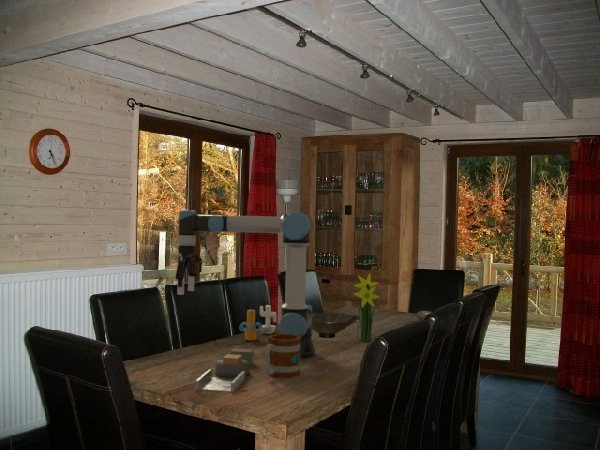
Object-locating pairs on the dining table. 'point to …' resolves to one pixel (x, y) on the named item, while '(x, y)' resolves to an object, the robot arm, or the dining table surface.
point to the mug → (283, 355)
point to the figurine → (268, 319)
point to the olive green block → (245, 354)
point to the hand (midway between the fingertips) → (185, 292)
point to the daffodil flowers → (366, 306)
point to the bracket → (218, 382)
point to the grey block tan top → (231, 366)
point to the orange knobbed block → (250, 326)
